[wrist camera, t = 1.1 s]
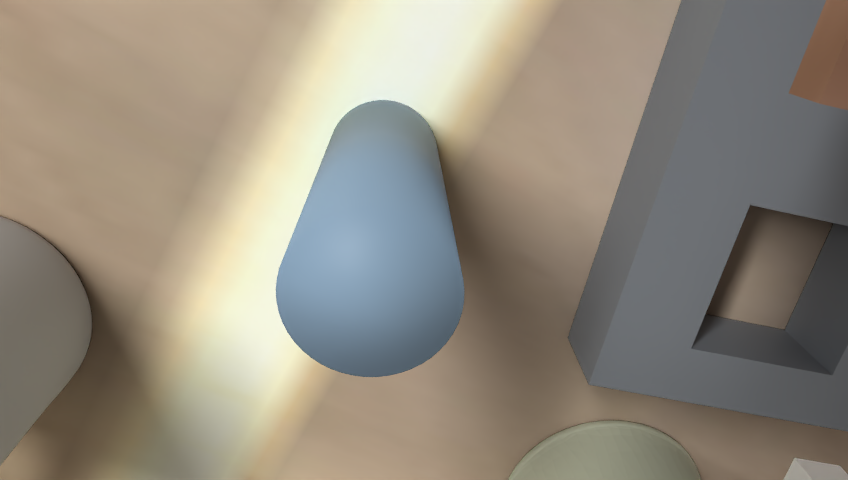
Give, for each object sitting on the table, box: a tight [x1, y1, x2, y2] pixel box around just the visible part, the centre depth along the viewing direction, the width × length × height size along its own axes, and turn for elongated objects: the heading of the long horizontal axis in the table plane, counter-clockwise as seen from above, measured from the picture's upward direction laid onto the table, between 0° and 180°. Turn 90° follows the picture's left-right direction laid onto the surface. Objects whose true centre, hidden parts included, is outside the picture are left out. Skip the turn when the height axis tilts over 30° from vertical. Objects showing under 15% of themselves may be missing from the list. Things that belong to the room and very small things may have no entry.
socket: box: [568, 0, 848, 431], centre depth 26 cm, size 16×12×4 cm
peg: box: [276, 100, 464, 377], centre depth 21 cm, size 4×4×12 cm
